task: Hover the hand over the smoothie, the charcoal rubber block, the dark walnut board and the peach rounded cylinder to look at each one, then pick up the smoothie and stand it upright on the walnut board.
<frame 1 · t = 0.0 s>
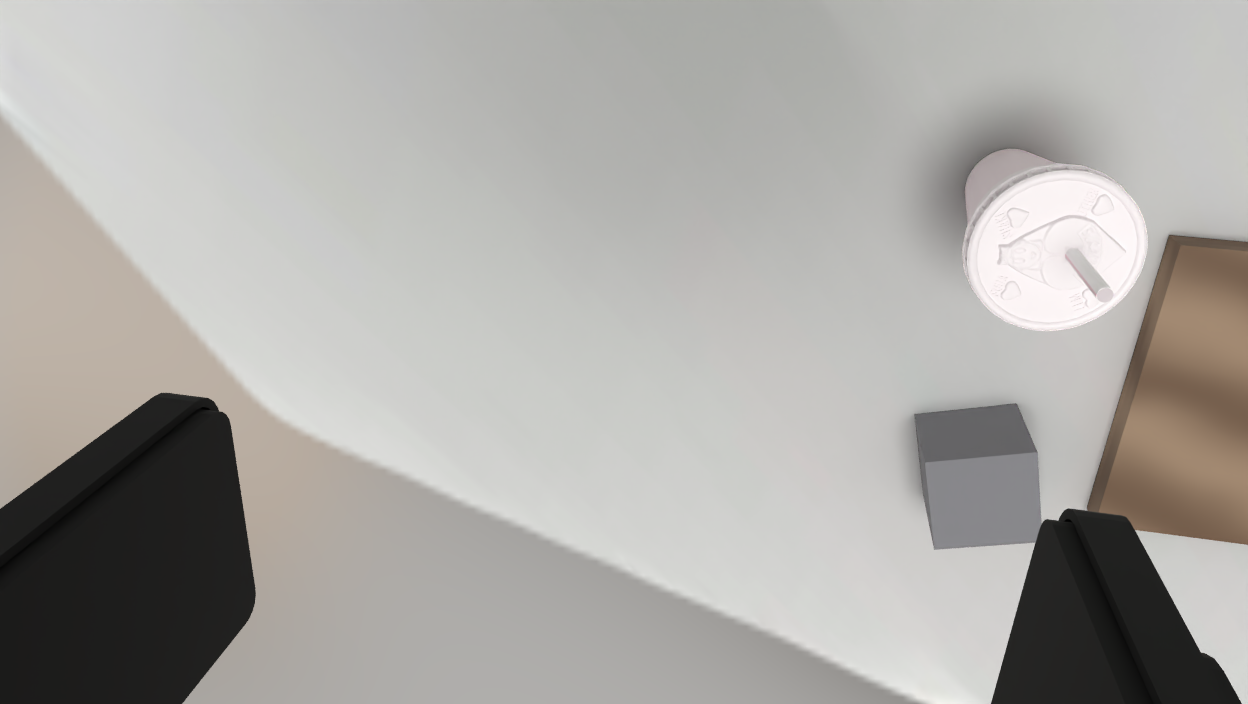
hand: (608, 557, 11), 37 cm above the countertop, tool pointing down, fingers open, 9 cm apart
rubber block: (968, 450, 50), on the countertop
smoothie: (1005, 187, 44), on the countertop
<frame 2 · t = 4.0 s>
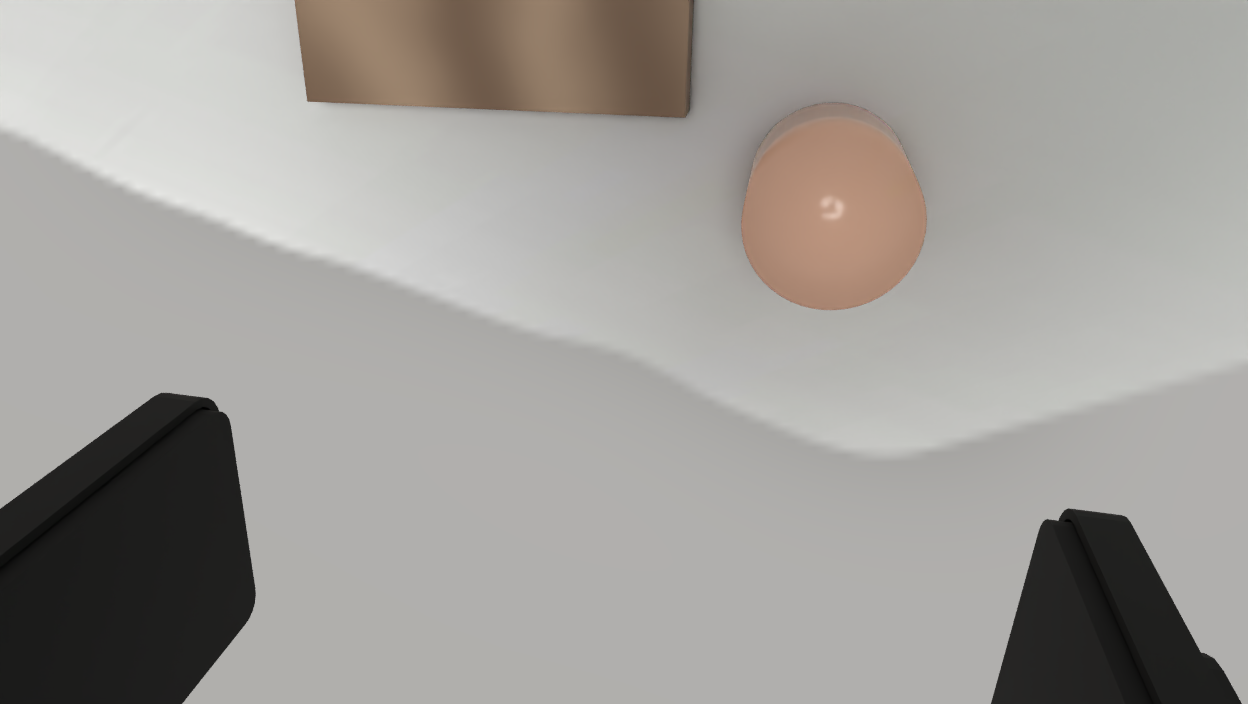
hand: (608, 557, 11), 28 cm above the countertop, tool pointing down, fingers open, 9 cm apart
peach rounded cylinder: (828, 181, 37), on the countertop
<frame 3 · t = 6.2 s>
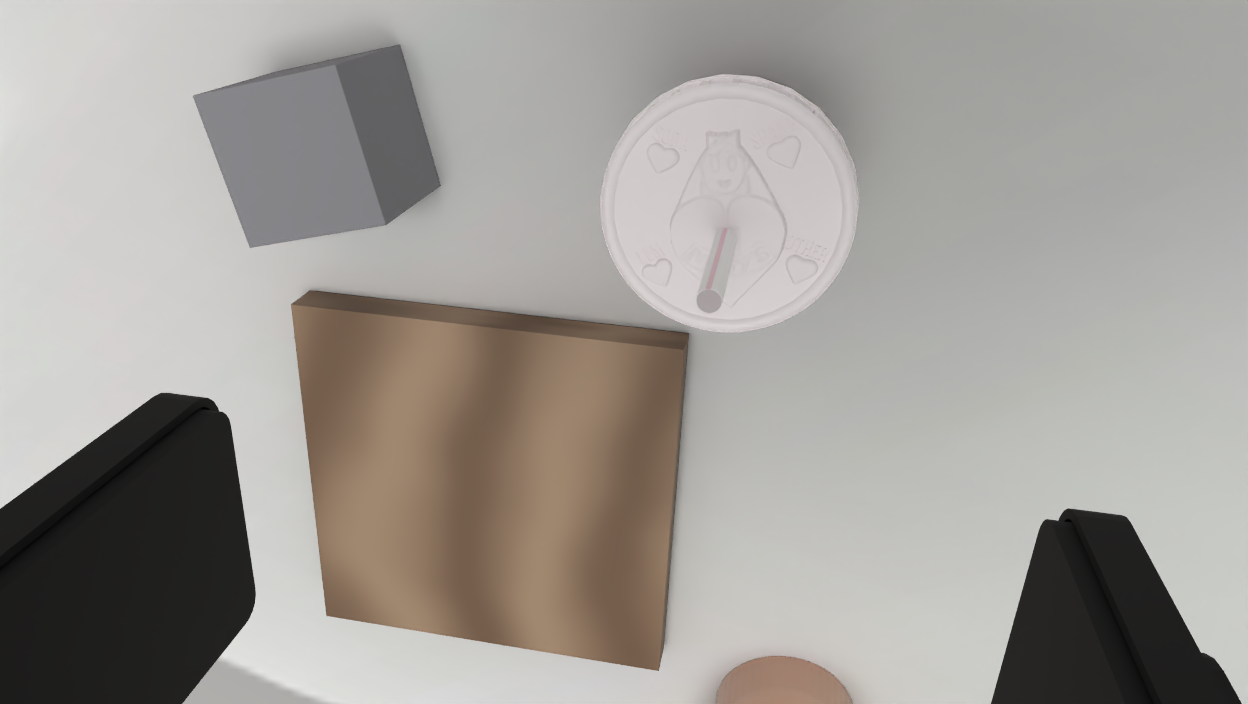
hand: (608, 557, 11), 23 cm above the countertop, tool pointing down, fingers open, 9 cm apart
rubber block: (358, 129, 34), on the countertop
smoothie: (749, 132, 32), on the countertop
walnut board: (496, 477, 39), on the countertop
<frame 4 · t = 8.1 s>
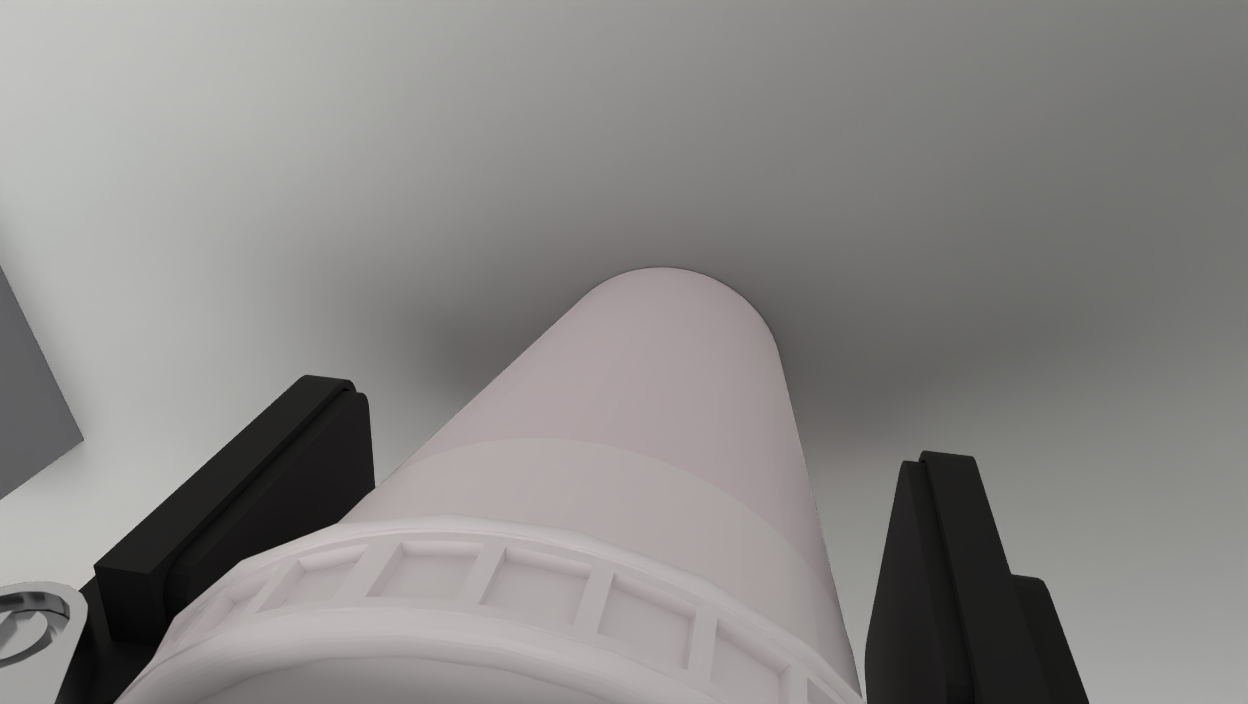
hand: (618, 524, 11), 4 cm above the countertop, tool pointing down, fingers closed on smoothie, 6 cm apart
smoothie: (667, 370, 15), on the countertop, touching gripper
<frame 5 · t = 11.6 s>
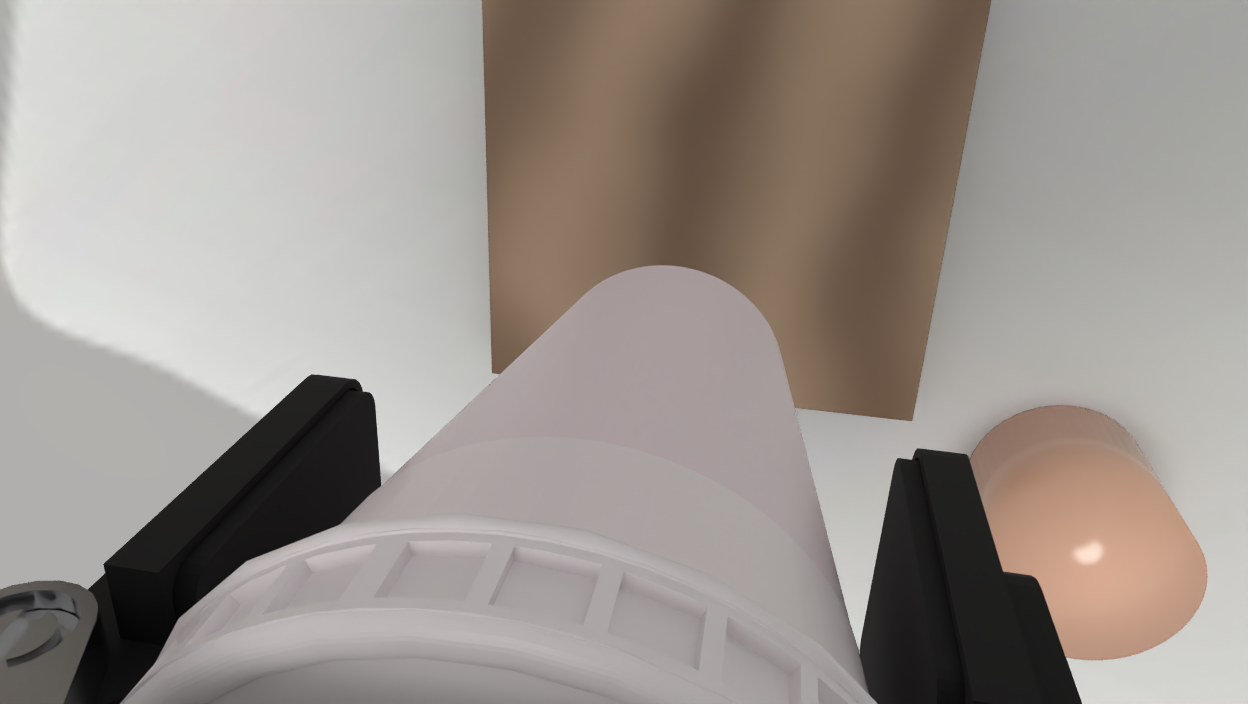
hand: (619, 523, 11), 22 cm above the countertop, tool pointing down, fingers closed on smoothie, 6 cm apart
smoothie: (668, 368, 15), point 18 cm above the countertop, touching gripper
peach rounded cylinder: (1053, 478, 34), on the countertop
walnut board: (715, 178, 32), on the countertop
when the fingers open (7 cm above the countertop, at t = 15.1 s): smoothie drops 1 cm, resting on walnut board.
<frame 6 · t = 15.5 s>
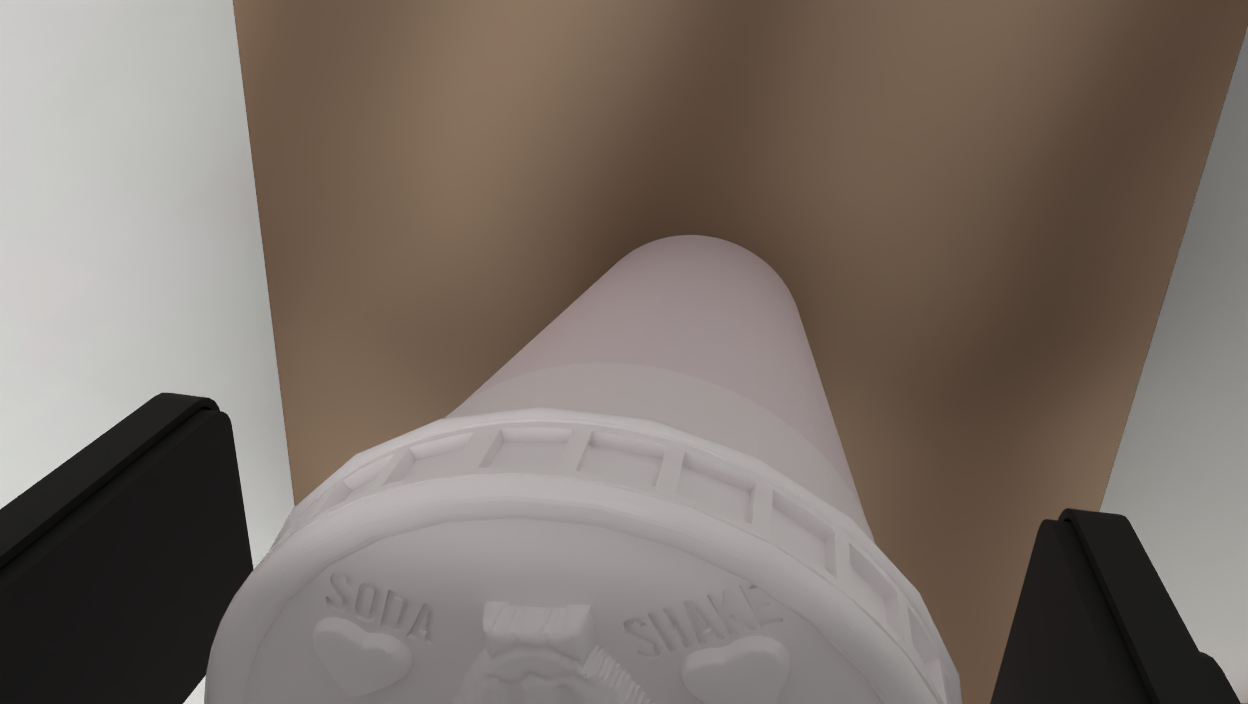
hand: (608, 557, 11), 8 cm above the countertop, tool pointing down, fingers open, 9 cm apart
smoothie: (694, 333, 16), point 1 cm above the countertop, touching walnut board
walnut board: (684, 311, 18), on the countertop
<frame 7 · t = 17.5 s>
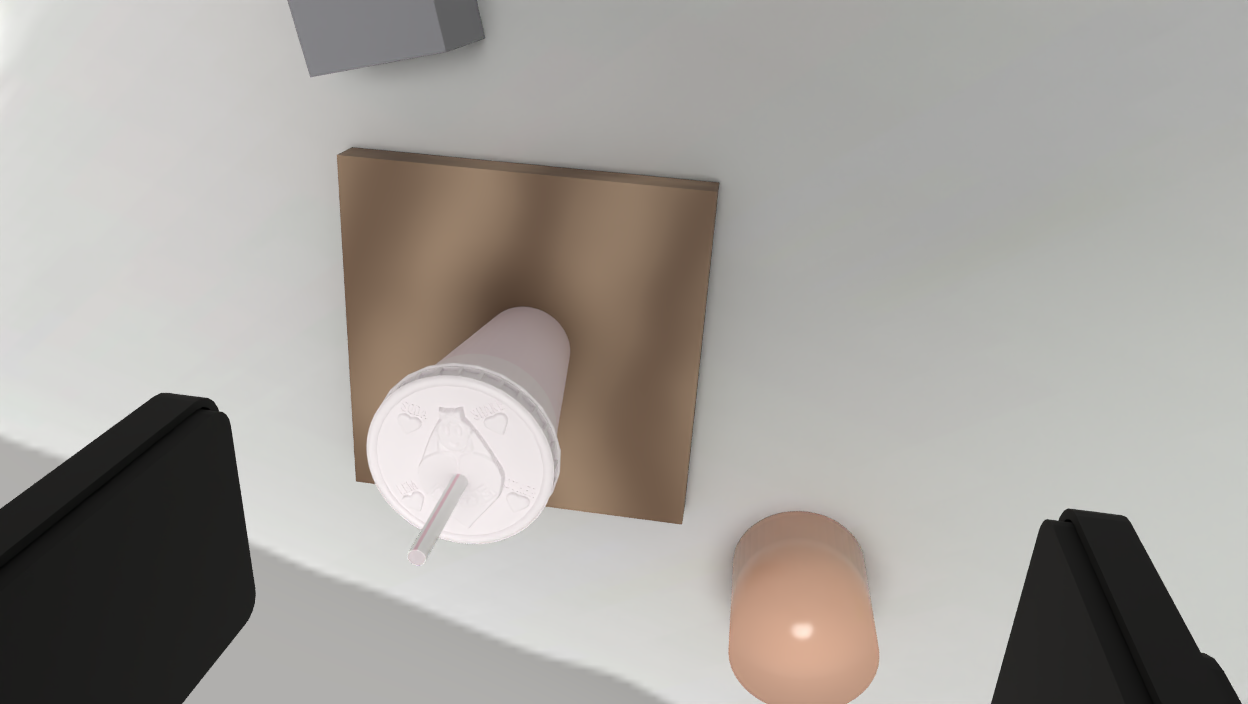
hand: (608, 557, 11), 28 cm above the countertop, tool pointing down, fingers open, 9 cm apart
smoothie: (527, 346, 40), point 1 cm above the countertop, touching walnut board
peach rounded cylinder: (798, 566, 44), on the countertop
walnut board: (527, 336, 41), on the countertop
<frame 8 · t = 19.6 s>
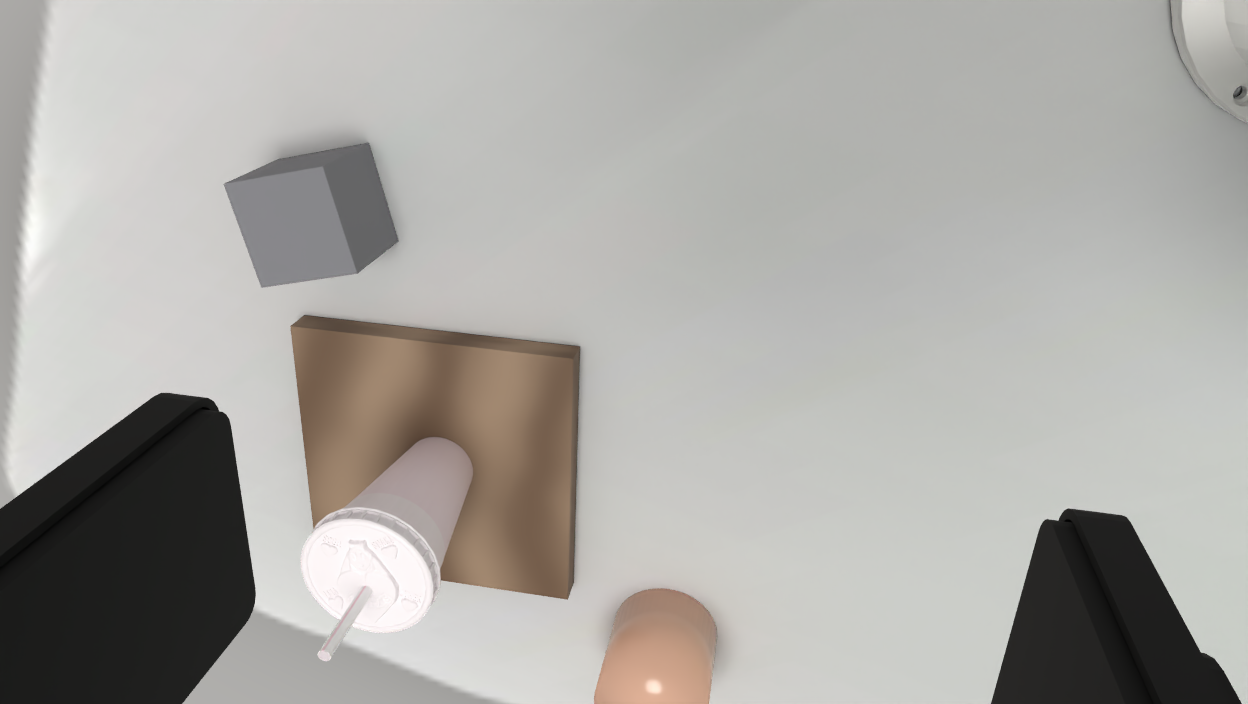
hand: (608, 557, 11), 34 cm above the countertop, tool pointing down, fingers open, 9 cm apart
rubber block: (339, 200, 47), on the countertop
smoothie: (441, 464, 51), point 1 cm above the countertop, touching walnut board
peach rounded cylinder: (665, 630, 55), on the countertop
walnut board: (444, 454, 53), on the countertop
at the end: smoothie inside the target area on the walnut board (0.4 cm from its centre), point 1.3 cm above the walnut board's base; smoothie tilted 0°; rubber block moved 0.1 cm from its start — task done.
